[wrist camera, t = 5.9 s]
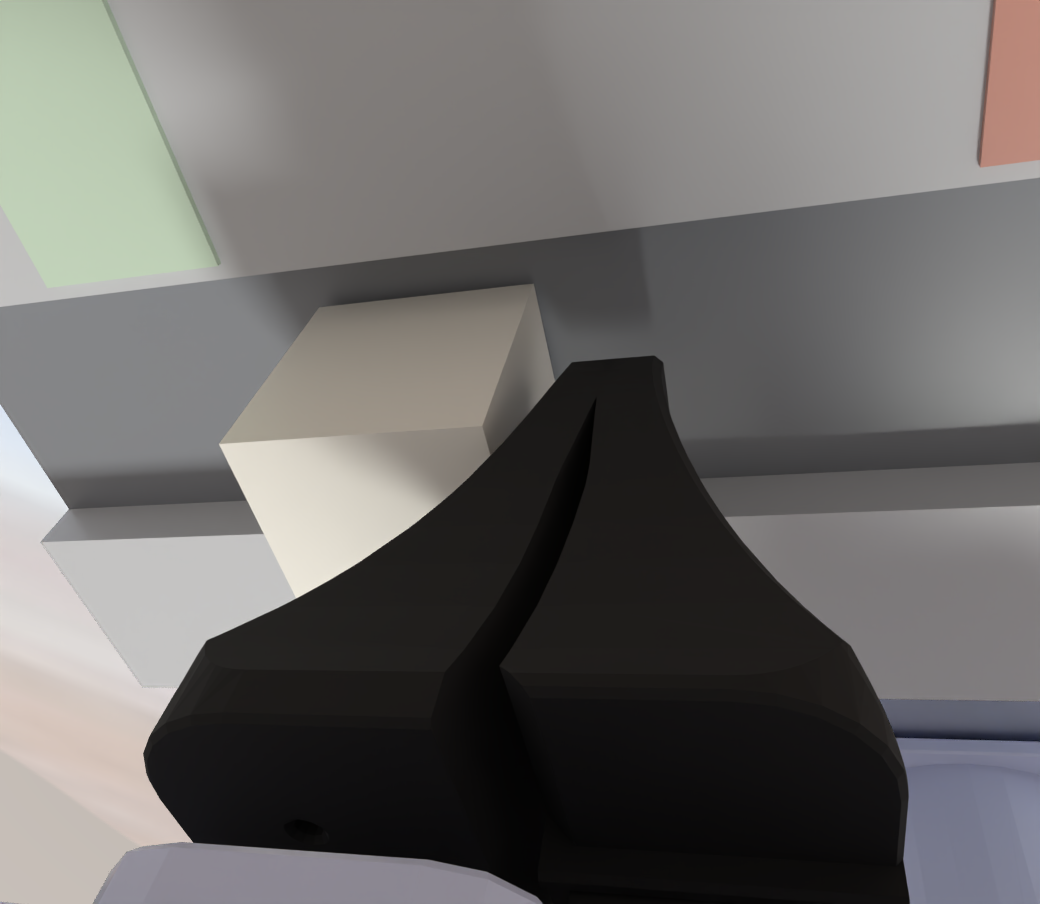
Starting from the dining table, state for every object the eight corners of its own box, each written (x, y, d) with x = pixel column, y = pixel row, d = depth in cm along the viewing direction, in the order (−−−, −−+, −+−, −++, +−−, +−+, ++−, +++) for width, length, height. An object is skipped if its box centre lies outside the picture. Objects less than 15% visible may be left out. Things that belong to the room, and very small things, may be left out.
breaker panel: (1329, 609, 17) (1430, 751, 14) (217, 618, 23) (159, 718, 21) (1922, -689, 8) (2481, -896, 5) (-191, -81, 14) (-381, -47, 12)
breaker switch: (569, 445, 15) (533, 605, 12) (376, 457, 16) (301, 608, 13) (533, 283, 13) (482, 426, 10) (319, 307, 14) (219, 444, 11)
